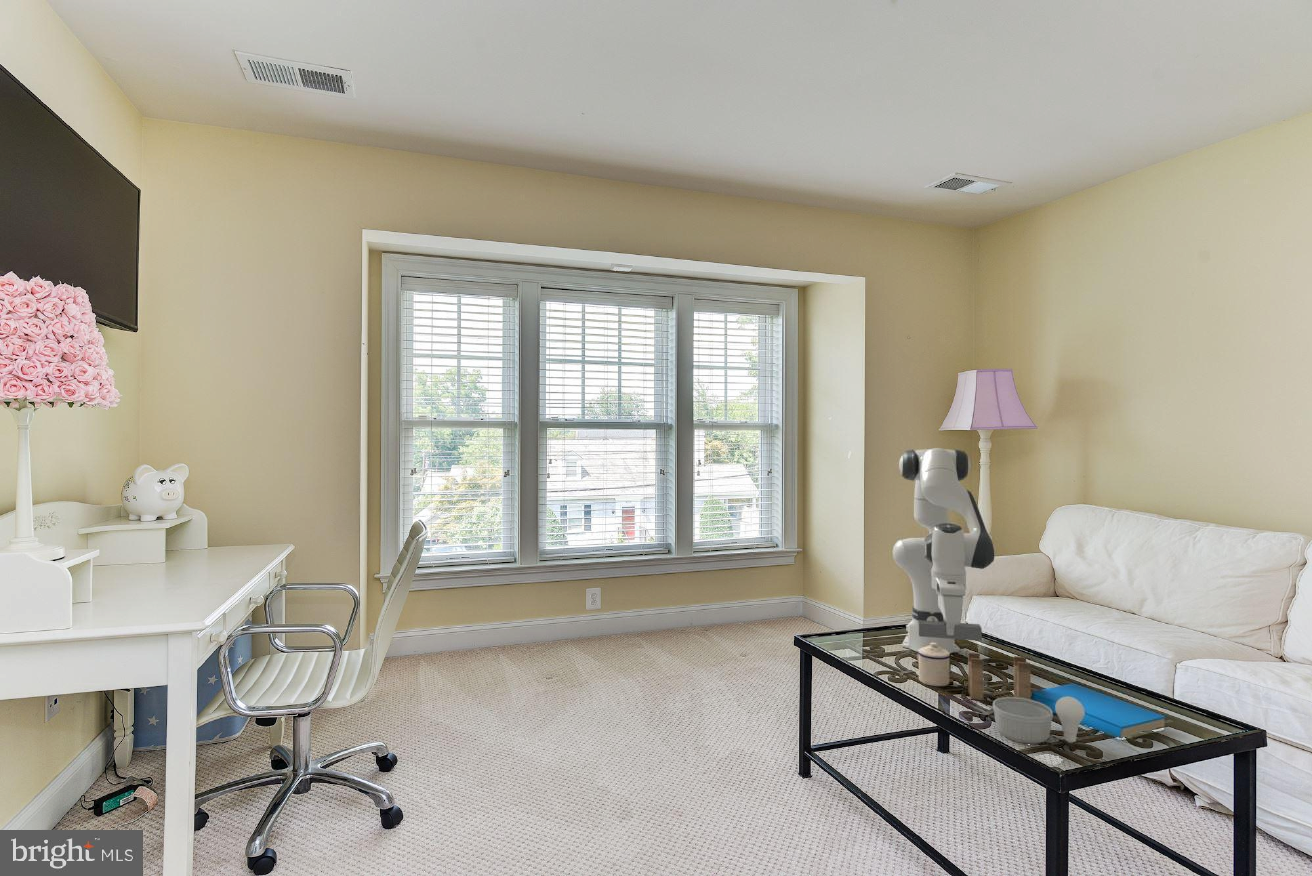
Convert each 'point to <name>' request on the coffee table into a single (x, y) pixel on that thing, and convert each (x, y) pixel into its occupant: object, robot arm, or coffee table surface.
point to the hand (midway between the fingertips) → (948, 632)
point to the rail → (939, 631)
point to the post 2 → (1022, 678)
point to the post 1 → (975, 676)
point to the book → (1102, 710)
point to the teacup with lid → (933, 665)
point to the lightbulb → (1069, 716)
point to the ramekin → (1022, 719)
